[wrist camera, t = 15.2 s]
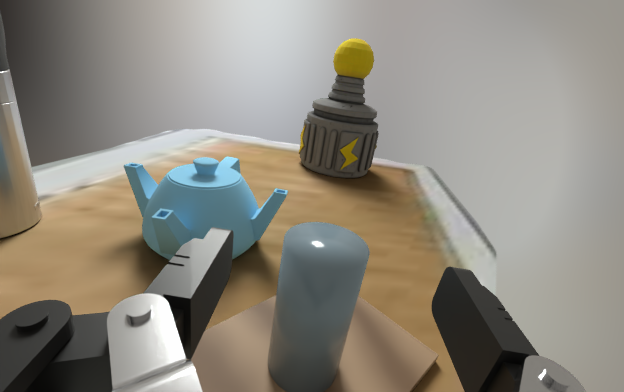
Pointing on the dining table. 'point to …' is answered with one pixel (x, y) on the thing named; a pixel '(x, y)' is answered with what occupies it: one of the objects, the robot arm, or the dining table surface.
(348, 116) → the toy tesla coil
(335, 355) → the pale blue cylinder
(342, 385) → the placemat
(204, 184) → the teapot
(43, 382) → the robot arm
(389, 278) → the dining table surface
